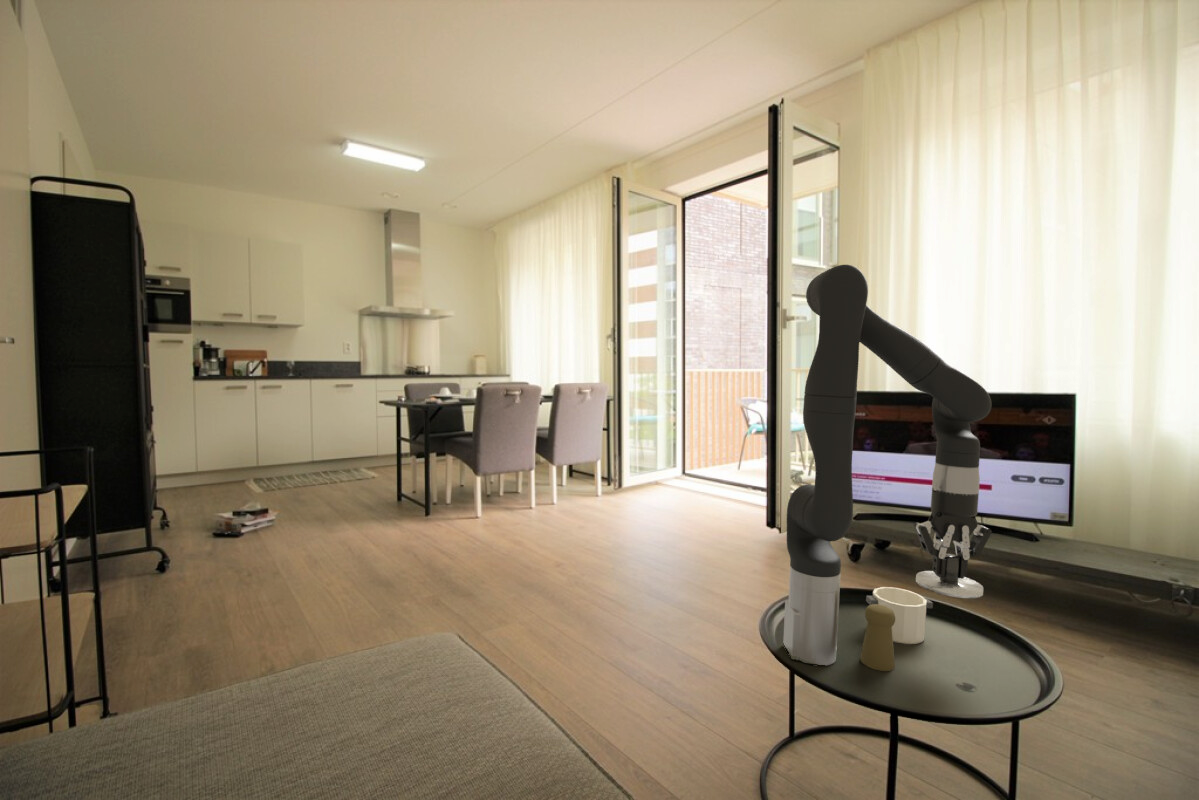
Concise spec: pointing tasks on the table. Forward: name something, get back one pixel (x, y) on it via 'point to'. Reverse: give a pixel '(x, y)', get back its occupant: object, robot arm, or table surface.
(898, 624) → the pot
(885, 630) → the cork
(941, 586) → the lid
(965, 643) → the table surface
